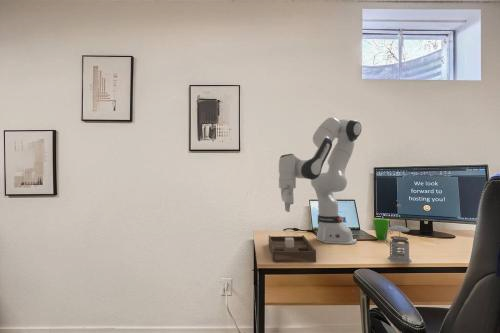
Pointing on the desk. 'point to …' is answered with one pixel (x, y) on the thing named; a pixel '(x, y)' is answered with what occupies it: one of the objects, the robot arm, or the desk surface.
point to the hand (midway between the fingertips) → (287, 211)
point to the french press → (399, 245)
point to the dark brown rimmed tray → (291, 249)
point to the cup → (381, 228)
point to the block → (289, 242)
